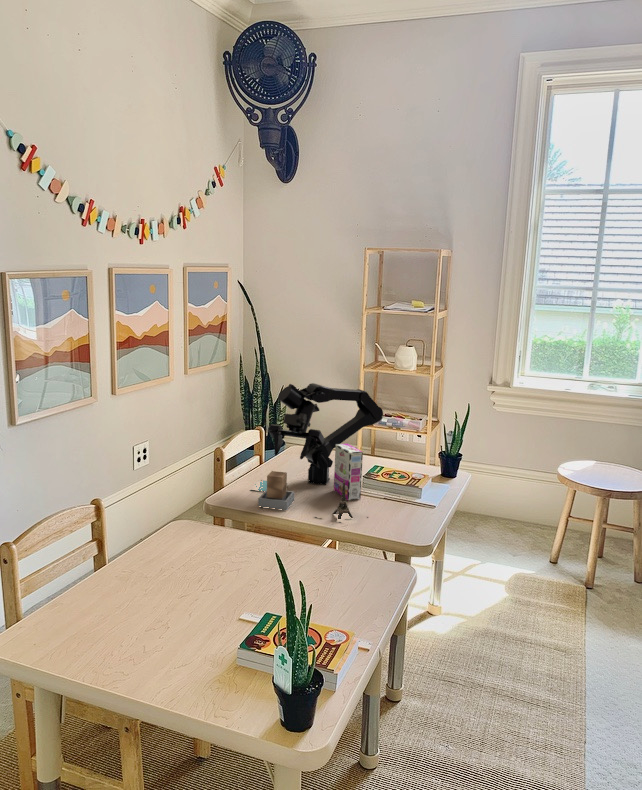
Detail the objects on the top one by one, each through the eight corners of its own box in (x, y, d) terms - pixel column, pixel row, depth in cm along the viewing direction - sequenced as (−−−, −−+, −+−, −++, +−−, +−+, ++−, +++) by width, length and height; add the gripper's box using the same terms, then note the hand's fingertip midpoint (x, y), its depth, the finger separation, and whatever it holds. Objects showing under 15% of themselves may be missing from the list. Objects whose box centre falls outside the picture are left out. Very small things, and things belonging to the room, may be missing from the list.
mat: (287, 484, 228) (287, 482, 228) (278, 493, 219) (278, 492, 219) (259, 481, 231) (259, 480, 230) (250, 490, 221) (250, 489, 221)
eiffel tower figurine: (312, 519, 200) (313, 477, 197) (326, 508, 209) (327, 468, 206) (358, 529, 194) (360, 486, 191) (370, 517, 203) (372, 476, 200)
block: (286, 502, 212) (286, 472, 210) (281, 507, 207) (282, 477, 205) (271, 500, 213) (271, 471, 211) (266, 505, 208) (267, 475, 206)
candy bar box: (361, 499, 216) (363, 451, 212) (348, 501, 214) (349, 453, 210) (346, 488, 226) (347, 442, 222) (333, 490, 224) (334, 443, 220)
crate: (294, 500, 213) (294, 491, 213) (286, 510, 204) (286, 501, 204) (267, 497, 215) (267, 488, 215) (258, 507, 206) (258, 498, 206)
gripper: (270, 400, 219) (254, 441, 212) (321, 406, 212) (306, 448, 204) (280, 418, 228) (265, 457, 220) (330, 424, 221) (316, 465, 213)
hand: (288, 456), depth 214 cm, fingers open, 9 cm apart
